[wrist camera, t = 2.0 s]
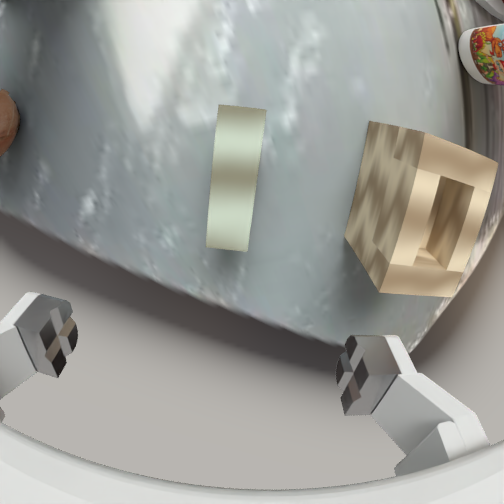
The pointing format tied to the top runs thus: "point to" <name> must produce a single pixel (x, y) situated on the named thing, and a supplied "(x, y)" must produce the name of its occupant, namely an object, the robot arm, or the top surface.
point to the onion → (7, 121)
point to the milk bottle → (484, 53)
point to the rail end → (234, 176)
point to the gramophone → (493, 7)
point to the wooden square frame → (417, 210)
